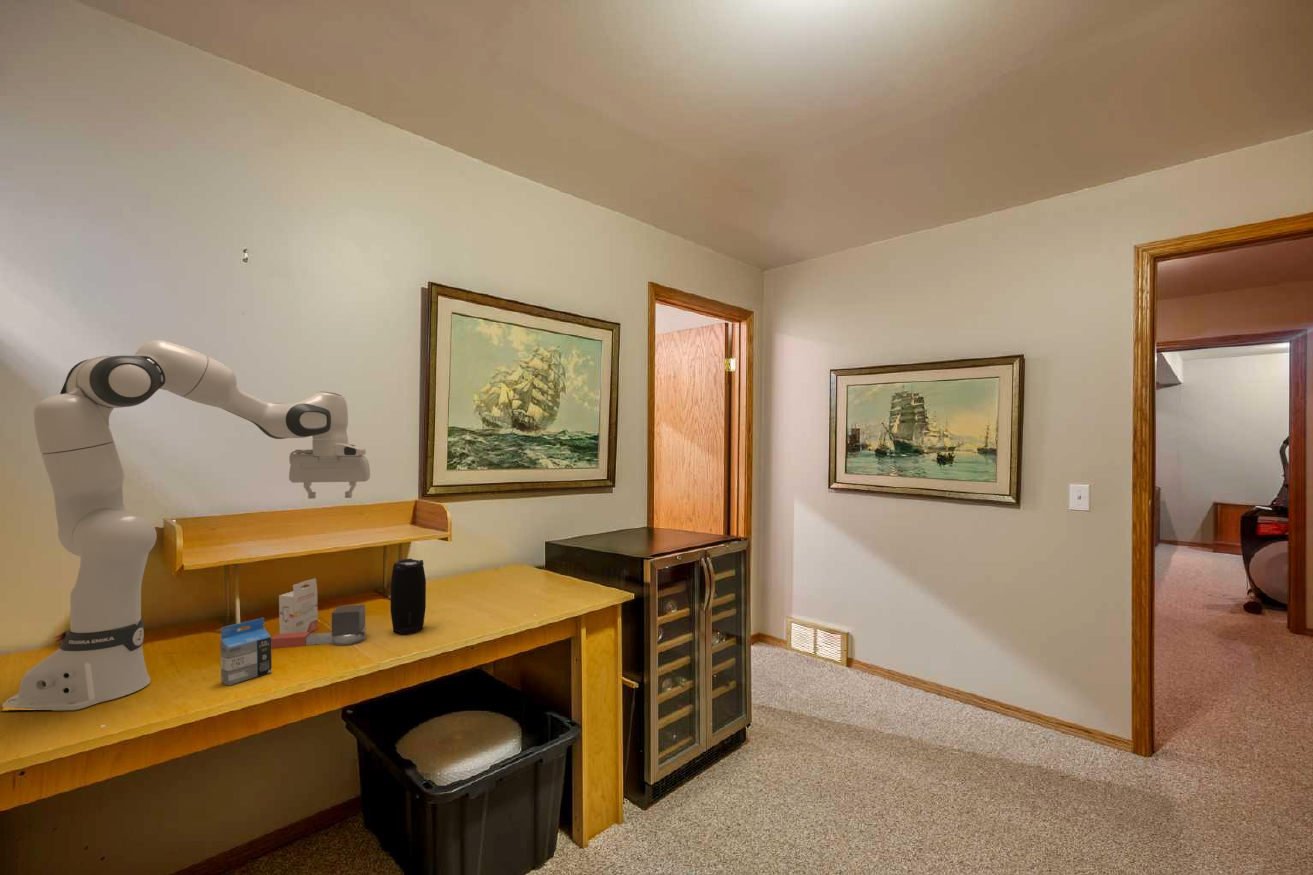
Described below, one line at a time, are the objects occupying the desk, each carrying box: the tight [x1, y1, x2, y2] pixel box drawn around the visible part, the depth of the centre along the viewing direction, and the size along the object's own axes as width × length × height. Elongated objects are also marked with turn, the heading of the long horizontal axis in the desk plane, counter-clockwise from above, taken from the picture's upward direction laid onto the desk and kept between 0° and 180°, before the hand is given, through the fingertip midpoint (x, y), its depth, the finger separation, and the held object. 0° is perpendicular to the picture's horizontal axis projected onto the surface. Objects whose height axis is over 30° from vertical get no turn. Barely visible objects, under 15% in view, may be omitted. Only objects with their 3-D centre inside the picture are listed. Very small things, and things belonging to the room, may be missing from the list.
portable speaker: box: [390, 558, 427, 636], centre depth 165 cm, size 9×9×20 cm
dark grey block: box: [331, 604, 366, 636], centre depth 157 cm, size 7×7×6 cm
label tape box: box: [220, 617, 273, 686], centre depth 132 cm, size 9×4×12 cm, turn 147°
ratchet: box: [271, 626, 367, 649], centre depth 155 cm, size 22×8×6 cm, turn 104°
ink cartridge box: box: [278, 577, 319, 634], centre depth 162 cm, size 9×5×15 cm, turn 168°
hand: (330, 498), depth 166 cm, fingers open, 8 cm apart
